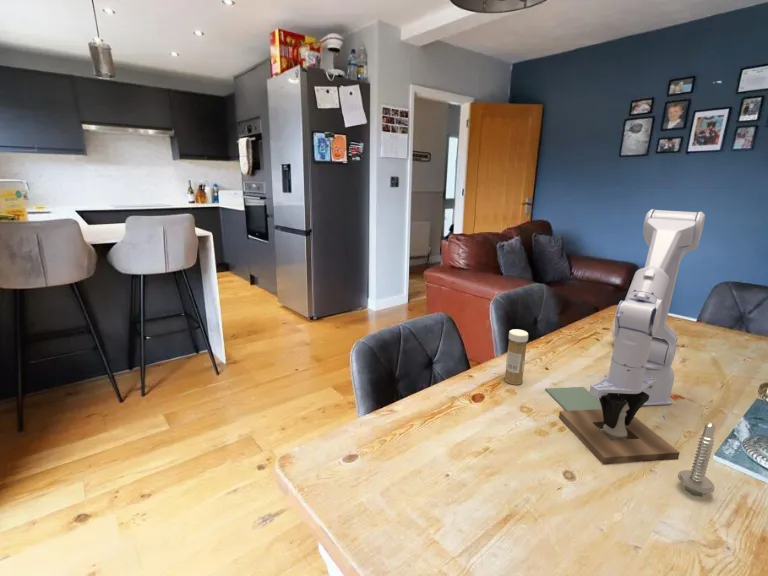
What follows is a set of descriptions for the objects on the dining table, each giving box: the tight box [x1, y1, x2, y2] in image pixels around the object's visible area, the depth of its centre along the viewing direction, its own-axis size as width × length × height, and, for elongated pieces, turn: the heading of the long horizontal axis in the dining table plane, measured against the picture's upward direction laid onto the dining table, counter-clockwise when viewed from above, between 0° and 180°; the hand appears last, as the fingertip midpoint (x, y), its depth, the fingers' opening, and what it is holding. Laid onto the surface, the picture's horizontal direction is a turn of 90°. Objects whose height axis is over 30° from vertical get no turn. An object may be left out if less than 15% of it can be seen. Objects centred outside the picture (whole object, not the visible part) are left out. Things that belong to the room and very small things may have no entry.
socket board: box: [558, 409, 680, 465], centre depth 81 cm, size 15×15×2 cm
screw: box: [677, 422, 716, 498], centre depth 65 cm, size 13×5×5 cm
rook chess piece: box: [601, 400, 629, 440], centre depth 80 cm, size 4×4×8 cm
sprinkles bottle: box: [503, 328, 529, 386], centre depth 101 cm, size 5×5×13 cm
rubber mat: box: [544, 386, 602, 411], centre depth 94 cm, size 10×10×1 cm
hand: (616, 424), depth 80 cm, fingers closed on rook chess piece, 3 cm apart
